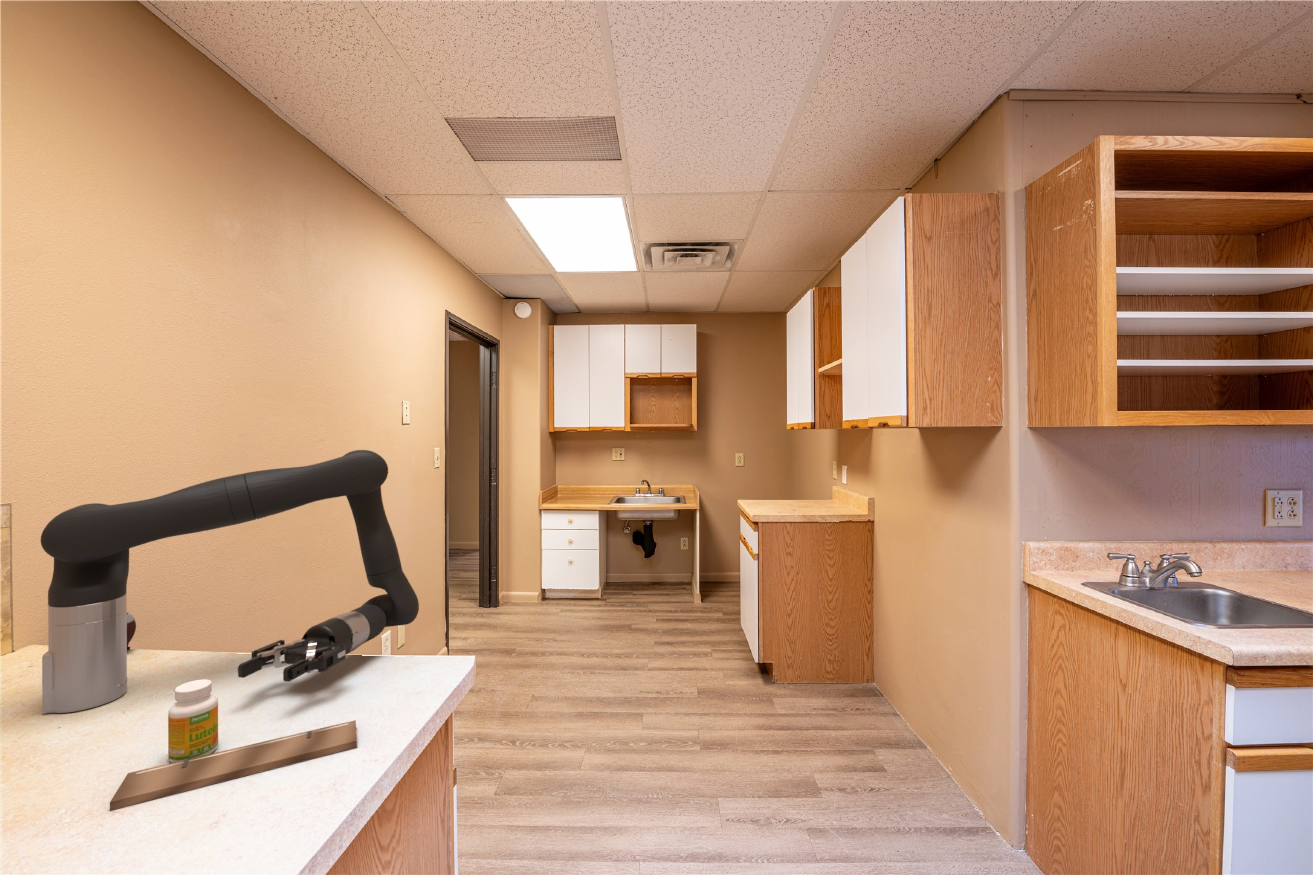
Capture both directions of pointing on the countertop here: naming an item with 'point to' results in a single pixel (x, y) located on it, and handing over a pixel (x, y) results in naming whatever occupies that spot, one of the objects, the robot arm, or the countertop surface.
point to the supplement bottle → (193, 721)
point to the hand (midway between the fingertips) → (262, 673)
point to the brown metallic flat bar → (232, 764)
